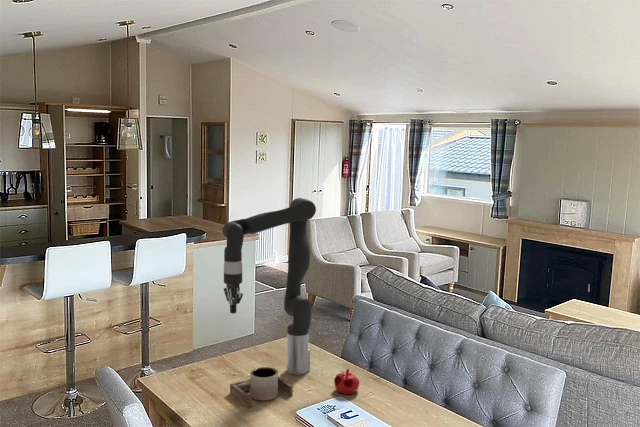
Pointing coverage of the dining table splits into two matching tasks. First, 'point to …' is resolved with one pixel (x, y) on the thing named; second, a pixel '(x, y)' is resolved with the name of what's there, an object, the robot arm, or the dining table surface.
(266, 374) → the planter
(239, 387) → the bay
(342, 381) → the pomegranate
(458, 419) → the dining table surface
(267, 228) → the robot arm
